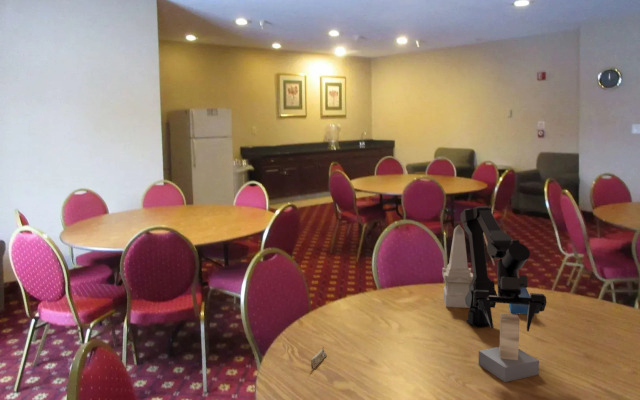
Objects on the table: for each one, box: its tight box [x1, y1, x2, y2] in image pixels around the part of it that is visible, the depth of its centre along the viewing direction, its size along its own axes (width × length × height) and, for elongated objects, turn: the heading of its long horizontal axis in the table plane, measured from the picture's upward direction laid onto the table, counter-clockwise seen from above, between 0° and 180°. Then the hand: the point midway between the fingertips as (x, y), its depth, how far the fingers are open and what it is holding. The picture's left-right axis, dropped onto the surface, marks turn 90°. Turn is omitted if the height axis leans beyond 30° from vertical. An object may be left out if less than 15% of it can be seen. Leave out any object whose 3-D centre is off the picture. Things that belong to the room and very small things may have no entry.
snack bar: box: [310, 346, 328, 371], centre depth 149 cm, size 10×2×3 cm, turn 156°
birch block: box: [498, 313, 521, 360], centre depth 142 cm, size 4×4×11 cm
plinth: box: [478, 346, 540, 383], centre depth 143 cm, size 11×11×4 cm
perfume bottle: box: [508, 276, 530, 315], centre depth 186 cm, size 6×6×12 cm
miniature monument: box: [441, 224, 473, 309], centre depth 194 cm, size 10×10×30 cm
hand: (509, 329), depth 140 cm, fingers open, 9 cm apart
